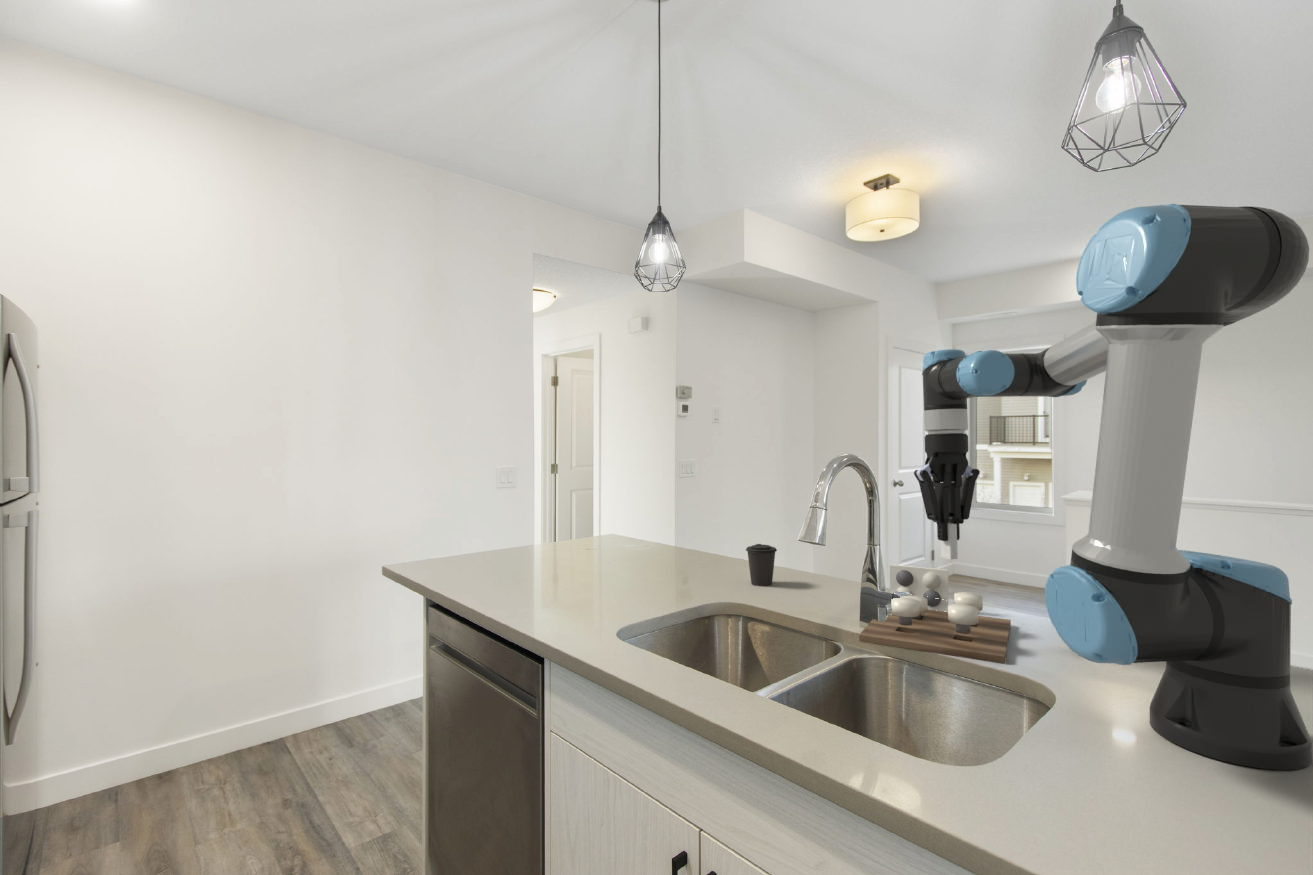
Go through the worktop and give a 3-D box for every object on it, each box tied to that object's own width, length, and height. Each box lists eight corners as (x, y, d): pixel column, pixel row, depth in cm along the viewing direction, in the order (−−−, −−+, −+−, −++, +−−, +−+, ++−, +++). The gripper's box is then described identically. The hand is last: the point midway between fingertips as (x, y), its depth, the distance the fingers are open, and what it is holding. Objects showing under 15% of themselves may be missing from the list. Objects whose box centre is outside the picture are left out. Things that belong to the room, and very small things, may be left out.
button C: (981, 622, 121) (981, 600, 121) (953, 619, 124) (952, 596, 124) (983, 616, 125) (983, 594, 125) (955, 612, 128) (955, 591, 128)
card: (947, 612, 137) (947, 570, 137) (889, 605, 143) (889, 565, 143) (950, 607, 140) (949, 567, 140) (893, 600, 146) (893, 561, 146)
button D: (925, 624, 126) (925, 602, 126) (899, 621, 129) (898, 599, 129) (929, 618, 130) (929, 597, 130) (903, 615, 133) (903, 594, 133)
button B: (917, 629, 118) (917, 605, 118) (889, 625, 120) (888, 602, 120) (921, 622, 122) (921, 599, 122) (894, 618, 124) (894, 596, 124)
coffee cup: (760, 578, 170) (759, 541, 170) (783, 583, 164) (783, 545, 164) (739, 583, 165) (739, 545, 165) (763, 589, 159) (762, 549, 159)
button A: (977, 637, 112) (977, 613, 112) (946, 633, 115) (946, 609, 115) (979, 630, 117) (979, 606, 117) (949, 626, 119) (949, 602, 119)
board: (1005, 663, 106) (1005, 656, 106) (859, 640, 119) (859, 634, 119) (1010, 625, 127) (1010, 619, 127) (885, 609, 139) (885, 604, 139)
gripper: (961, 433, 125) (964, 553, 124) (903, 433, 122) (906, 556, 121) (989, 431, 118) (993, 559, 117) (929, 432, 114) (932, 563, 114)
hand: (949, 557), depth 119 cm, fingers closed
